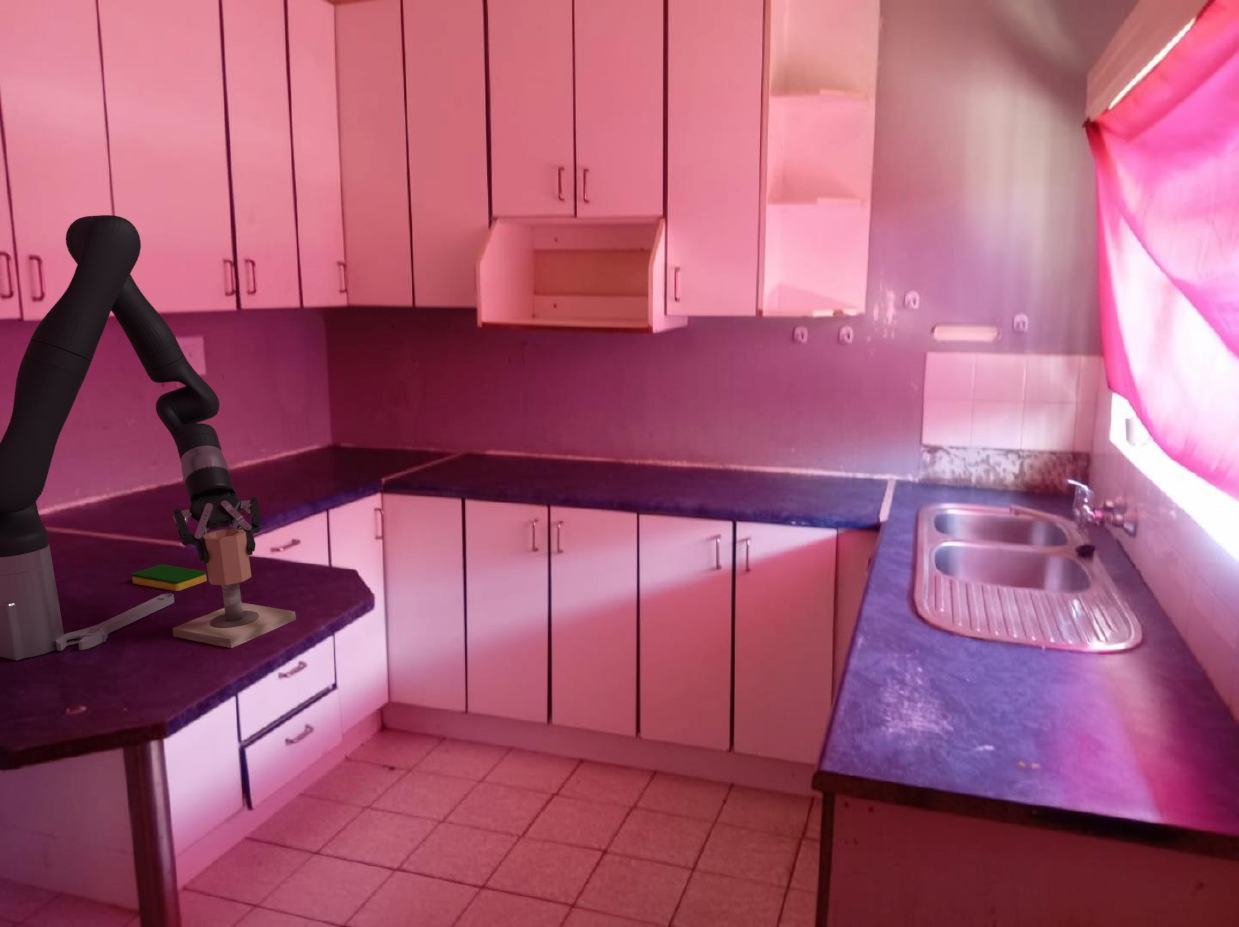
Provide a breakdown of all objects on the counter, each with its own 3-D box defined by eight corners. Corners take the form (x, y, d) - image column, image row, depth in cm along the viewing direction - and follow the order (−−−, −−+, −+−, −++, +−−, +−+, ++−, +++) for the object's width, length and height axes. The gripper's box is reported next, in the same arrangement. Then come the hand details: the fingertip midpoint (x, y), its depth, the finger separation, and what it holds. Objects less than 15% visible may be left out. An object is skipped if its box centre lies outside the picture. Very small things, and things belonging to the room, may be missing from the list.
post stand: (231, 648, 157) (224, 595, 155) (173, 636, 163) (166, 585, 161) (295, 619, 169) (290, 570, 167) (239, 609, 175) (233, 562, 174)
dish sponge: (163, 574, 201) (161, 563, 200) (208, 582, 194) (206, 571, 194) (132, 584, 194) (130, 573, 194) (177, 593, 188) (176, 581, 187)
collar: (213, 587, 160) (207, 541, 158) (206, 578, 165) (200, 533, 164) (253, 579, 163) (247, 534, 162) (245, 570, 169) (240, 526, 167)
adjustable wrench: (165, 600, 182) (164, 591, 182) (192, 604, 180) (192, 595, 180) (49, 649, 159) (48, 639, 159) (79, 654, 157) (78, 644, 157)
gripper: (162, 471, 163) (183, 553, 156) (251, 459, 171) (274, 537, 163) (162, 496, 169) (182, 576, 161) (248, 483, 176) (271, 559, 169)
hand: (228, 556), depth 162 cm, fingers closed on collar, 6 cm apart
